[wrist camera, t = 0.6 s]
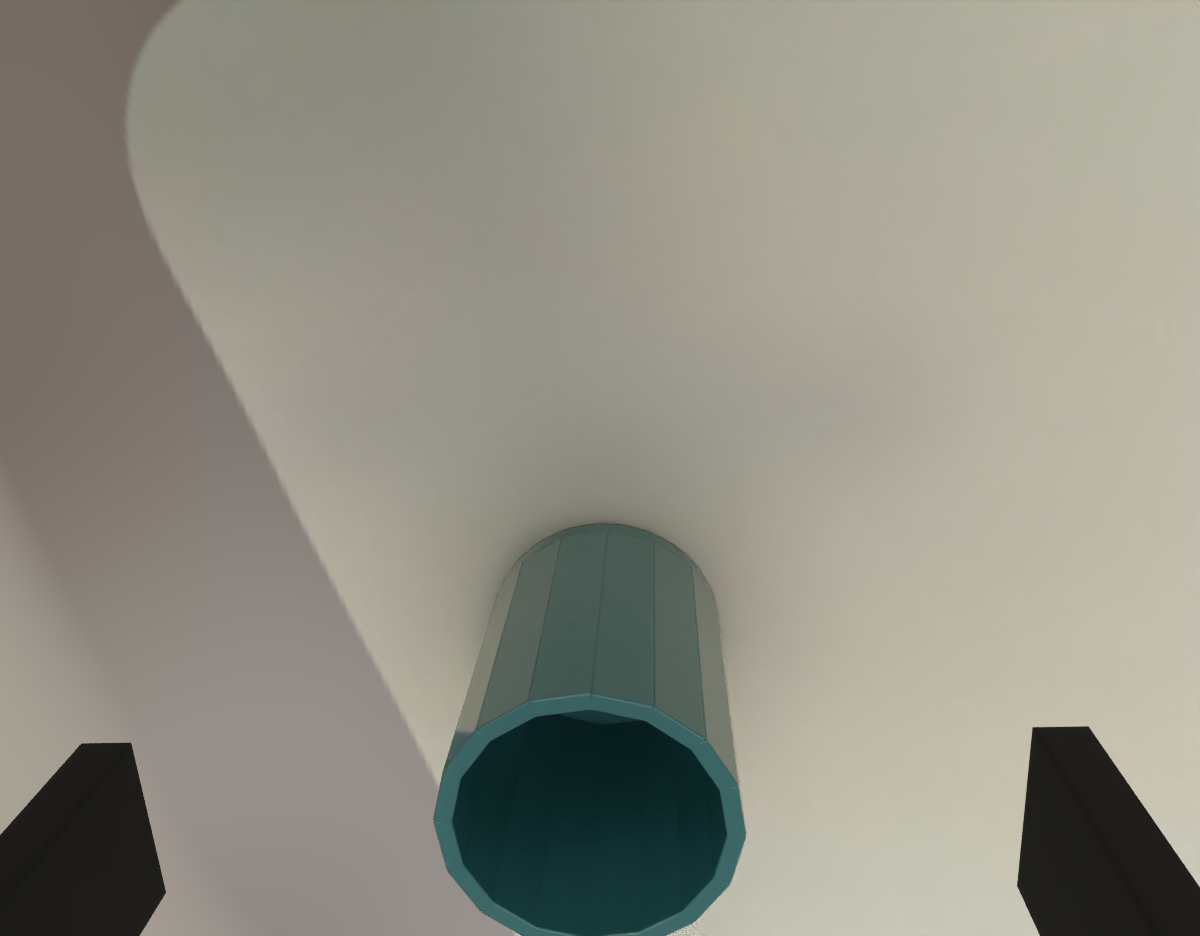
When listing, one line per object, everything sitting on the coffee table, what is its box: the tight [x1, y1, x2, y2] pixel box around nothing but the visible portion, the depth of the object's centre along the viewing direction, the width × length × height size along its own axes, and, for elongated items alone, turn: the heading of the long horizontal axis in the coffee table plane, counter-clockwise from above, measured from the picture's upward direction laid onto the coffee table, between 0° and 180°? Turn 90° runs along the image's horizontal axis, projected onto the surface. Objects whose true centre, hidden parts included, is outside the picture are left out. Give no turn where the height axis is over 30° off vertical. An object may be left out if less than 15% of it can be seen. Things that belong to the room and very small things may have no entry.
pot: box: [433, 524, 746, 936], centre depth 32 cm, size 8×8×11 cm
